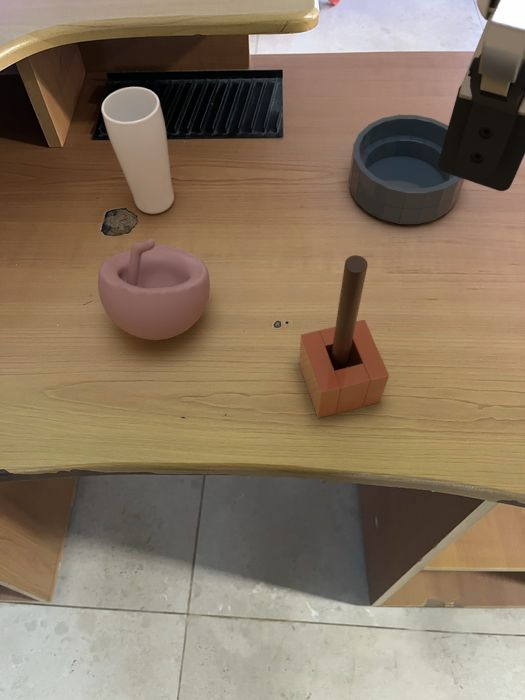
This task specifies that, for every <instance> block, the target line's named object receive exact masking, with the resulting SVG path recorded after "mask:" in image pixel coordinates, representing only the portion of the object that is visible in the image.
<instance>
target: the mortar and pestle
mask: <svg viewBox="0 0 525 700" xmlns="http://www.w3.org/2000/svg"><path fill="white" fill-rule="evenodd" d="M97 275H98V278H97V287H98V289H97V291H98V295H99V300H100V302H101V305H102V307H103V309H104V311H105V313H106V314H107V316H108V317H109V318H110V320H111V321H112V322H113V323H114V325H116V326H117V327H119V329H121V330H122V331H124V332H126V334H127V333H128V334H129V335H131V336H133V337H136V338H140V339H143V340H151V341H158V340H159V341H161V340H167V339H171V338H174V337H176V336H179V335H181V334H183V333H185V332H186V331H187V330H189V329H190V328H192V326H194V325H195V323H197V321H198V320H199V319H200V318H201V316H202V315H203V313H204V311H205V309H206V307H207V304H208V301H209V296H210V289H211V288H210V287H211V281H210V273H209V269H208V267H207V266H206V264H205V263H204V262H203V260H202V259H200V258H199V257H198V256H197V255H194V254H193V253H191V252H189V251H186V250H185V249H183V248H179V247H176V246H172V245H169V244H157V245H156V242H155V240H154V239H153V238H148V239H147V240H145V241H142V242H137V241H136V242H133V243H132V245H131V247H130V249H128V250H125V251H121V252H118V253H115V254H114V255H112V256H110V257H108V258H106V259H105V260H104V261H103V262H102V263H101V265H100V266H99V267H98V274H97Z"/></svg>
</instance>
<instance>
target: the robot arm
mask: <svg viewBox="0 0 525 700" xmlns="http://www.w3.org/2000/svg"><path fill="white" fill-rule="evenodd" d="M476 6H477V8H478V11H479V13H480V15H481V17H482V18H483V19H484V20H485V21H486V23H485V25H484V28H483V30H482V33H481V35H480V38H479V41H478V43H477V44H476V48H475V50H474V53H473V55H472V58H471V60H470V63H469V65H468V67H467V70H466V72H465V75H464V77H463V80H462V83H461V84H460V85H459V87H458V89H457V90H458V91H457V94H456V97H455V101H454V104H453V108H452V112H451V115H450V119H449V123H448V129H447V133H446V137H445V140H444V144H443V147H442V151H441V154H440V158H439V162H438V166H439V168H440V170H441V171H443V172H445V173H448V174H451V175H454V176H457V177H460V178H462V179H464V181H465V180H466V181H469V182H470V183H471V182H472V183H474V184H478V185H480V186H482V187H486V188H490V189H492V190H494V191H497V192H505V191H507V190H509V189H510V188H511V186H512V184H513V183H514V181H515V178H516V176H517V174H518V171H519V169H520V166H521V165H522V162H523V159H524V157H525V0H476Z"/></svg>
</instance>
